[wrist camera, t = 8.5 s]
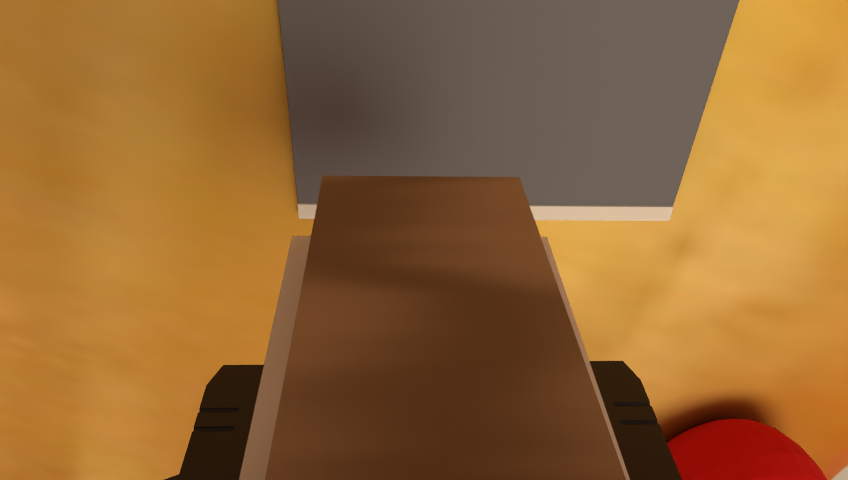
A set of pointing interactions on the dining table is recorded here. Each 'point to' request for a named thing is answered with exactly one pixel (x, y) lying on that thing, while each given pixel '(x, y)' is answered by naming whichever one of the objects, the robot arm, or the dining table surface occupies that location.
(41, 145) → the dining table surface
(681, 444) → the tomato
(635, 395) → the robot arm
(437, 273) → the block
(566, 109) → the mat
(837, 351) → the dining table surface
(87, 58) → the dining table surface
